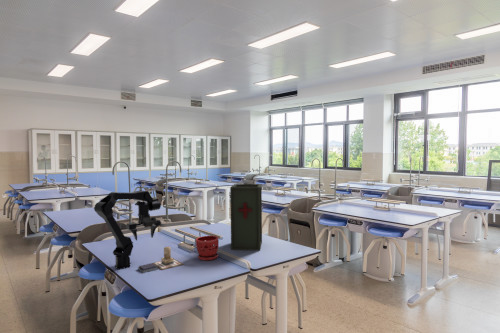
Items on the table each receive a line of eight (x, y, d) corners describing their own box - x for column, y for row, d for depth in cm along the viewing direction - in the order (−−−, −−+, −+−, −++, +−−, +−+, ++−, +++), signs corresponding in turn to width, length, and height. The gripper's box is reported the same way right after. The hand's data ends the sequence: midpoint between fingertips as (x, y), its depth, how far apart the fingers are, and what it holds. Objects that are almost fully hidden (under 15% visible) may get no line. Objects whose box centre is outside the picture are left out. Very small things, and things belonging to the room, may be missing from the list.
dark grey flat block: (143, 272, 169) (142, 269, 169) (138, 269, 174) (137, 265, 174) (157, 269, 174) (157, 265, 174) (152, 265, 180) (152, 262, 179)
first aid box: (261, 242, 224) (261, 184, 222) (260, 250, 206) (259, 187, 204) (235, 241, 226) (234, 184, 224) (231, 249, 208) (230, 187, 206)
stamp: (165, 265, 178) (165, 249, 178) (161, 263, 182) (161, 247, 182) (173, 263, 182) (173, 247, 181) (169, 261, 185) (169, 245, 185)
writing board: (161, 270, 173) (161, 269, 173) (151, 263, 183) (151, 262, 183) (183, 264, 181) (183, 263, 181) (173, 258, 191) (173, 257, 191)
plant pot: (215, 253, 200) (215, 234, 200) (221, 260, 188) (221, 239, 188) (194, 256, 196) (193, 236, 195) (198, 263, 184) (198, 241, 183)
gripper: (132, 216, 177) (133, 244, 178) (164, 212, 189) (165, 238, 190) (125, 213, 186) (126, 240, 187) (156, 209, 198) (157, 235, 198)
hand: (144, 238), depth 190 cm, fingers open, 9 cm apart
